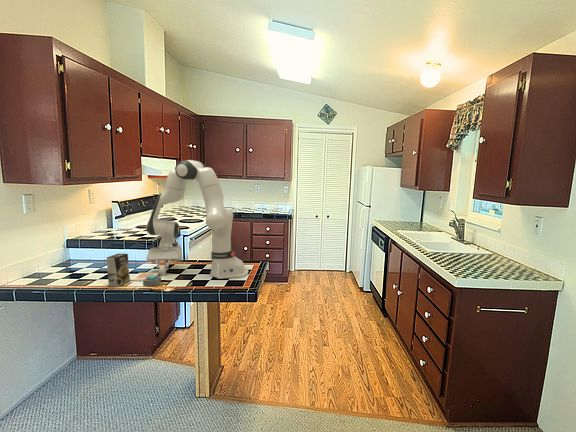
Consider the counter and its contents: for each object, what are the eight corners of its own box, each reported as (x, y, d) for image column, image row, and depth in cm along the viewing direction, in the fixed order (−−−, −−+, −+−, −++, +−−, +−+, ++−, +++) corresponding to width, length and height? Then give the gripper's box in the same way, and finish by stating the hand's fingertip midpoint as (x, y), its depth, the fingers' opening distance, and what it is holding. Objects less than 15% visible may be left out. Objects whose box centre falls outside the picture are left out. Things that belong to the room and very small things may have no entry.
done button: (156, 278, 173) (156, 275, 173) (154, 280, 170) (154, 277, 169) (150, 278, 173) (149, 275, 173) (147, 280, 169) (147, 277, 169)
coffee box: (118, 287, 167) (116, 257, 164) (108, 286, 168) (105, 257, 166) (130, 281, 176) (128, 253, 173) (120, 280, 177) (118, 252, 175)
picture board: (159, 273, 188) (159, 272, 188) (152, 280, 176) (152, 278, 176) (139, 274, 188) (139, 272, 188) (130, 281, 176) (130, 279, 176)
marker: (167, 274, 187) (166, 259, 186) (165, 276, 184) (164, 261, 183) (161, 274, 187) (160, 259, 186) (158, 276, 184) (157, 261, 182)
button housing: (161, 281, 175) (160, 276, 175) (156, 285, 168) (156, 280, 168) (148, 281, 175) (148, 276, 175) (143, 286, 168) (142, 280, 168)
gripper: (147, 245, 189) (142, 265, 181) (181, 244, 190) (178, 264, 182) (151, 250, 195) (145, 270, 186) (184, 249, 196) (180, 269, 187)
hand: (162, 267), depth 184 cm, fingers closed on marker, 4 cm apart
